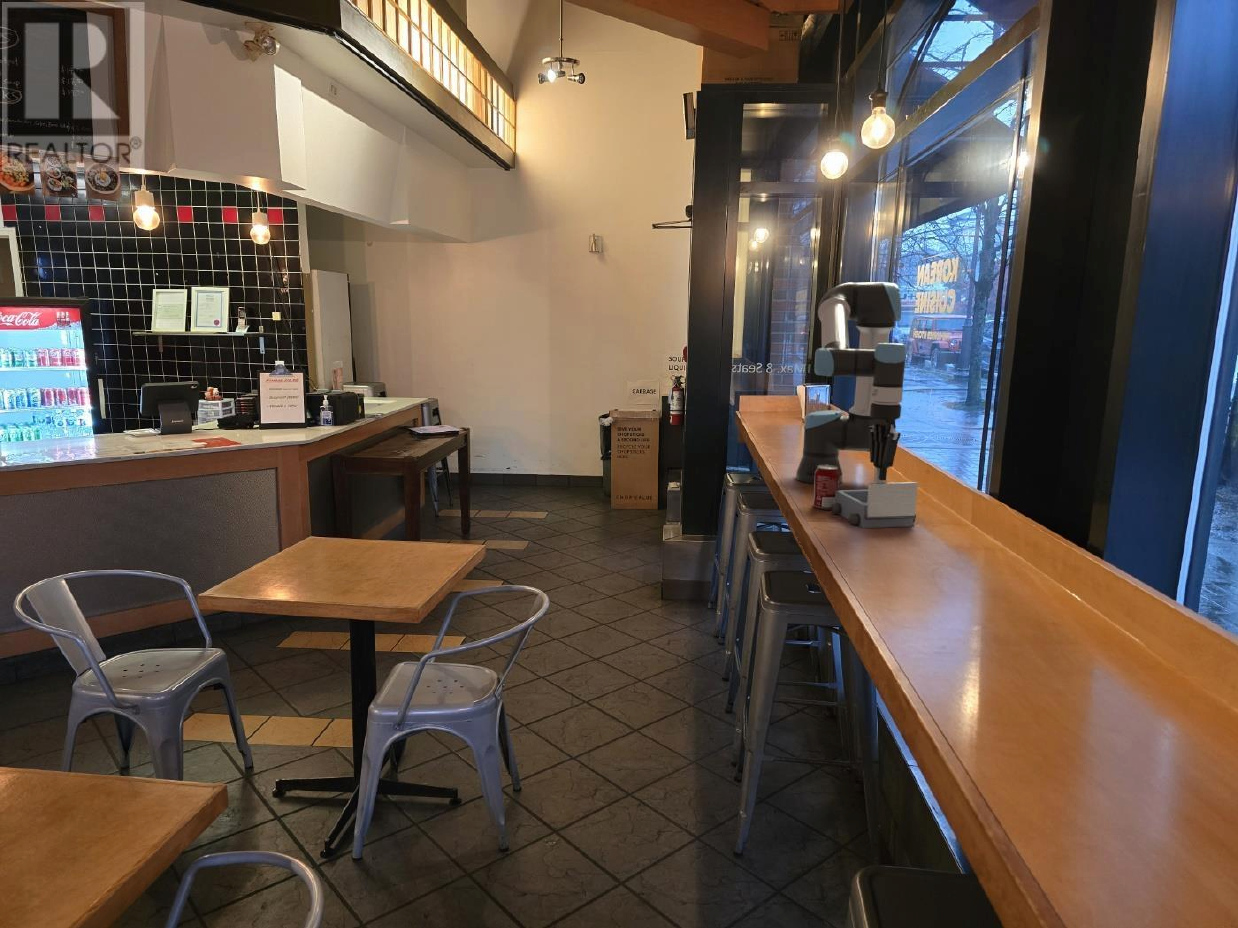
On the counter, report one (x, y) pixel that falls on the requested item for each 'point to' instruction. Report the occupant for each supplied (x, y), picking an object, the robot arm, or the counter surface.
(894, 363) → the robot arm
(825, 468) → the soda can
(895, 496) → the panel
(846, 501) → the box
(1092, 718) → the counter surface
